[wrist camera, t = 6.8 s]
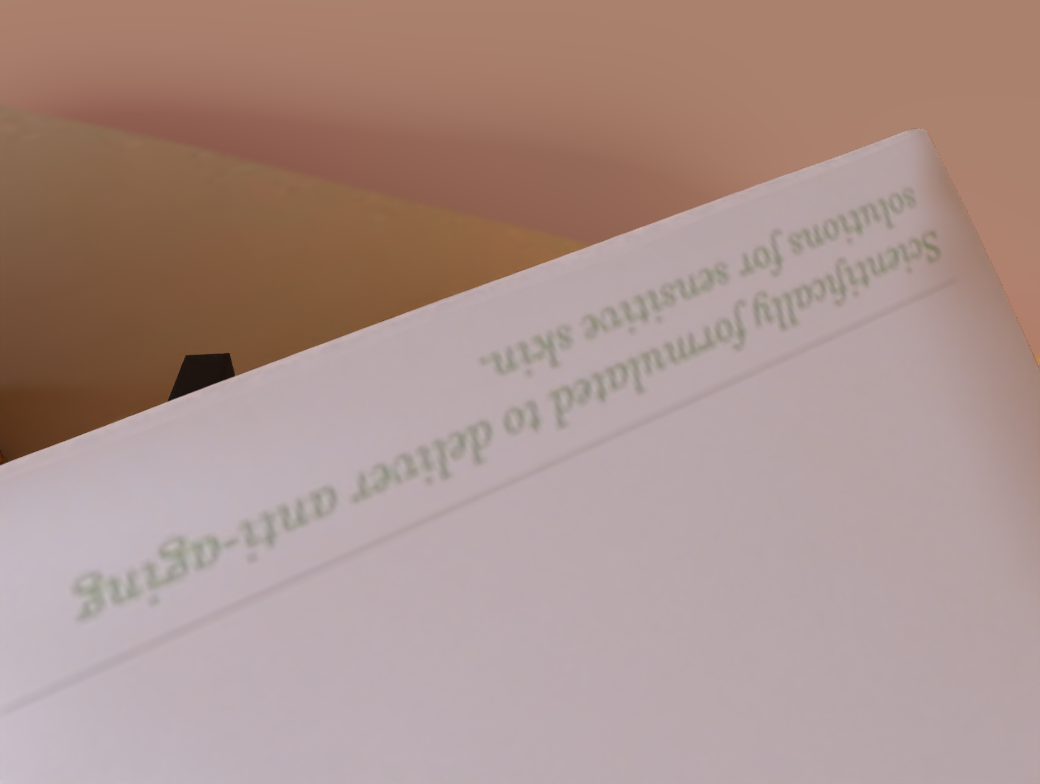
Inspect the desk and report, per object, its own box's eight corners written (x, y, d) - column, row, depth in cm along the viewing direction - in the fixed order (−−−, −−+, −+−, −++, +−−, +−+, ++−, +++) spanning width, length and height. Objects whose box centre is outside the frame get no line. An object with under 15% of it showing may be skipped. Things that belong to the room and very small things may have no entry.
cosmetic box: (532, 374, 20) (960, 70, 5) (610, 557, 20) (1320, 832, 5) (285, 475, 18) (-282, 484, 3) (368, 680, 18) (223, 1877, 3)
